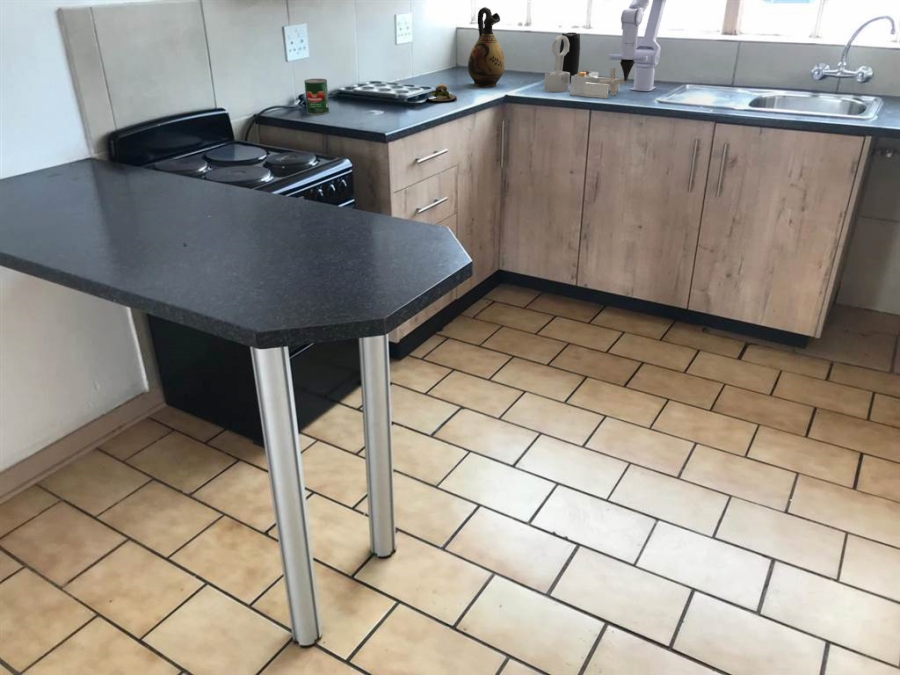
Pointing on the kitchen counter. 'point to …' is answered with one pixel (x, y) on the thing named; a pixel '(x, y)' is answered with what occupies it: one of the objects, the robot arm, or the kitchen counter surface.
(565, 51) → the engine component
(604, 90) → the motor housing
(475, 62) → the ceramic jug
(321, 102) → the canned tomato
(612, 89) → the pipe connector
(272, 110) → the kitchen counter surface
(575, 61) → the portable speaker
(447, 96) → the burger
